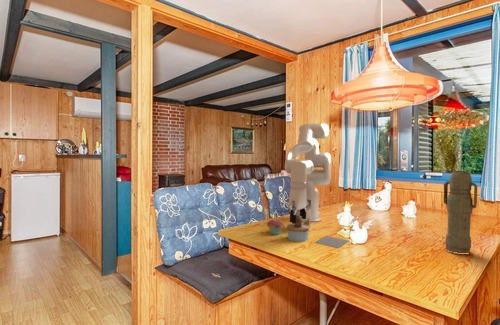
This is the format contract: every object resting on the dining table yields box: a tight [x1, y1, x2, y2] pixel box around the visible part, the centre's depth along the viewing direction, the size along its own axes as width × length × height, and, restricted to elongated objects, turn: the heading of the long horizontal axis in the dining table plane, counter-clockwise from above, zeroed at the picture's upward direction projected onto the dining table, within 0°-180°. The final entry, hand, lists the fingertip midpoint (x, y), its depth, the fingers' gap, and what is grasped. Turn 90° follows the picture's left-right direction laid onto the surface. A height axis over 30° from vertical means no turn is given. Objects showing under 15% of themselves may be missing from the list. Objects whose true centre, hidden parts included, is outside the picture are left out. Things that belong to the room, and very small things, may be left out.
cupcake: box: [266, 212, 284, 235], centre depth 150 cm, size 9×8×12 cm
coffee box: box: [291, 199, 311, 229], centre depth 160 cm, size 9×6×16 cm
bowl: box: [287, 229, 309, 242], centre depth 141 cm, size 10×10×5 cm
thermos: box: [443, 170, 478, 253], centre depth 125 cm, size 9×12×35 cm
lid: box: [286, 216, 310, 232], centre depth 141 cm, size 11×11×6 cm
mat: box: [313, 235, 350, 249], centre depth 136 cm, size 14×12×1 cm
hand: (298, 220), depth 141 cm, fingers open, 9 cm apart
